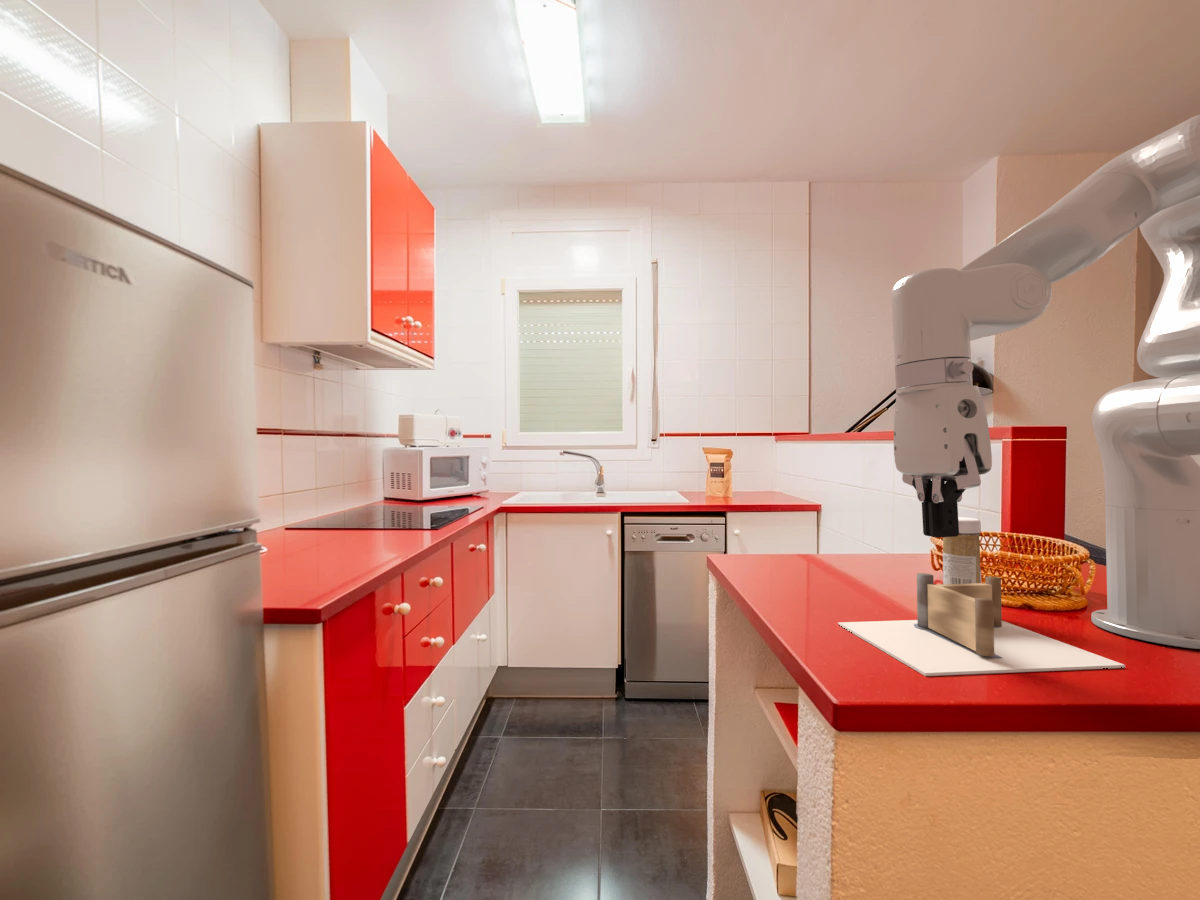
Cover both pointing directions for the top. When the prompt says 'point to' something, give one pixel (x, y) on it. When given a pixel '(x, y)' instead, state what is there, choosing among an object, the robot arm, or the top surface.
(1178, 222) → the robot arm
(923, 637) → the board
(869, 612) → the top surface
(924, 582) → the fixed fence
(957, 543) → the sprinkles bottle
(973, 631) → the fence panel
